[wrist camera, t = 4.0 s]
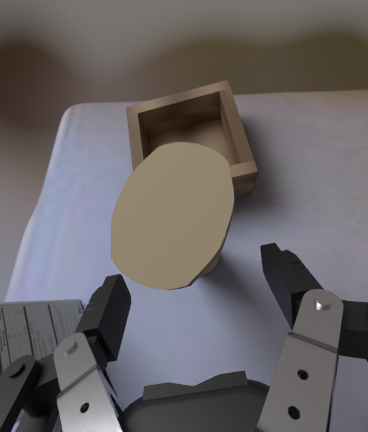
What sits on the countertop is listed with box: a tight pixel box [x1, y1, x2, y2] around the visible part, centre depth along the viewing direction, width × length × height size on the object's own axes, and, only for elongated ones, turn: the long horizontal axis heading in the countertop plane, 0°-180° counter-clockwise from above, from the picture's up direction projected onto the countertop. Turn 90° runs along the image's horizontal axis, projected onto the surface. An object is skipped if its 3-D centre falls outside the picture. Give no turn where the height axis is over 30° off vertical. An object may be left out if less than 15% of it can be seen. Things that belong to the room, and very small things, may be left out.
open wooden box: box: [126, 80, 258, 198], centre depth 25 cm, size 11×11×5 cm
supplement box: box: [0, 299, 83, 423], centre depth 17 cm, size 7×7×13 cm
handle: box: [111, 142, 234, 290], centre depth 16 cm, size 5×6×15 cm
